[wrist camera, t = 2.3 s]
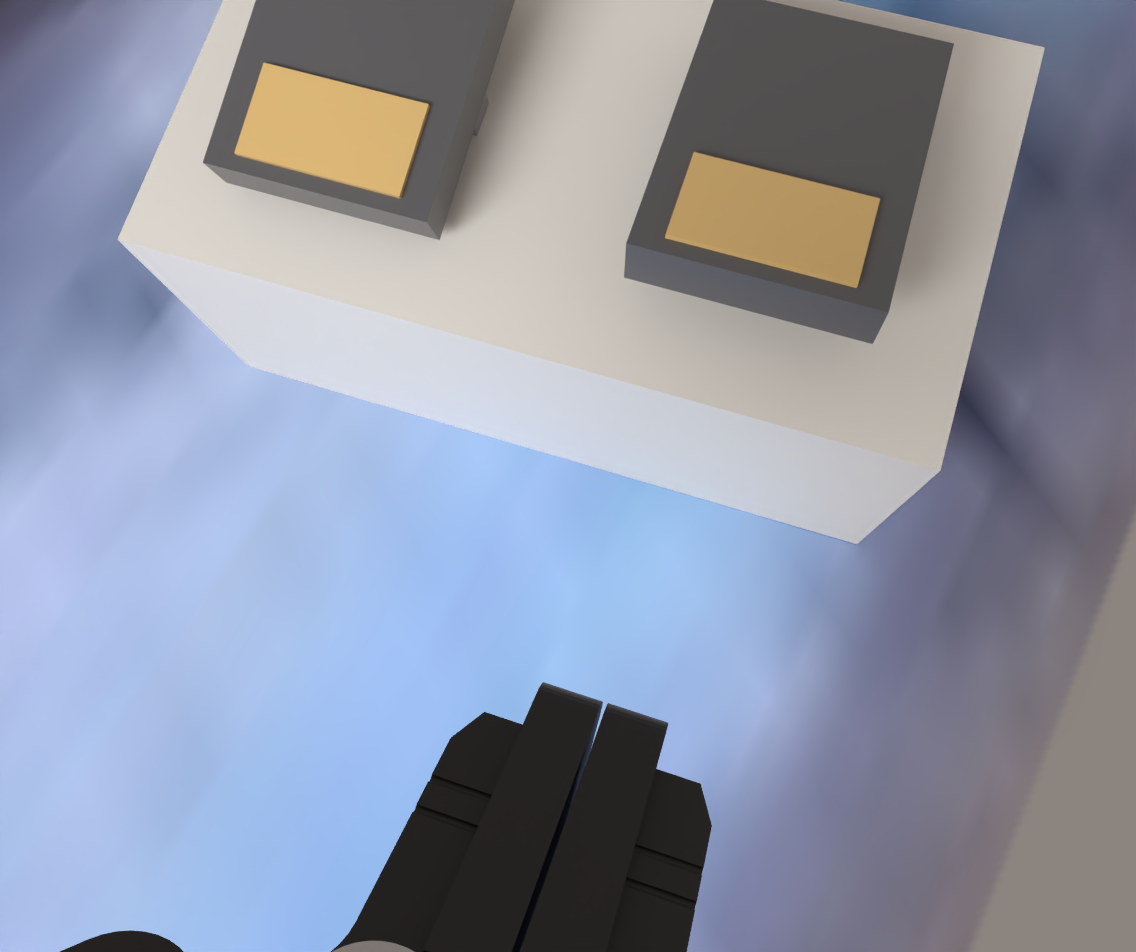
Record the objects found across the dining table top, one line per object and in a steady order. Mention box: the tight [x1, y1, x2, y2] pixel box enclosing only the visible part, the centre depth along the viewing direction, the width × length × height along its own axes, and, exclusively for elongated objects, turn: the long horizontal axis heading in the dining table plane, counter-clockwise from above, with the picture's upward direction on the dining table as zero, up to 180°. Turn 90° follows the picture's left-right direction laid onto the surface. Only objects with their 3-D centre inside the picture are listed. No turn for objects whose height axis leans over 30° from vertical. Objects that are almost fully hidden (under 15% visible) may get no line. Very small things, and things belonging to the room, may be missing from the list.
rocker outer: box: [624, 0, 954, 344], centre depth 26 cm, size 6×8×2 cm
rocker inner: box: [203, 0, 515, 240], centre depth 27 cm, size 6×8×2 cm
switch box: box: [118, 0, 1045, 544], centre depth 33 cm, size 22×12×11 cm, turn 72°
